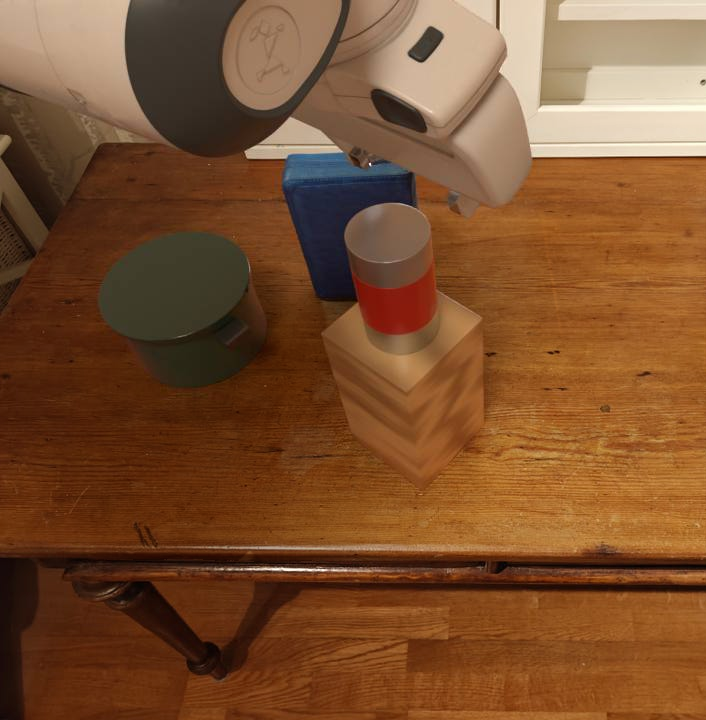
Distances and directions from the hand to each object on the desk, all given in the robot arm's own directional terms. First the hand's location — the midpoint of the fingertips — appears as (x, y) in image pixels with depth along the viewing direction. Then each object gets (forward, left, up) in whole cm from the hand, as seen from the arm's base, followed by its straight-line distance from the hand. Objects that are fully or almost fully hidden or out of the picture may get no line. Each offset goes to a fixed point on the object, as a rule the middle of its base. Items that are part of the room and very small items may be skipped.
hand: (414, 183), depth 51 cm
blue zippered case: (+9, +18, -32) cm, 38 cm away
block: (-3, 0, -32) cm, 32 cm away
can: (-3, 0, -14) cm, 14 cm away
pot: (-9, +29, -32) cm, 44 cm away
